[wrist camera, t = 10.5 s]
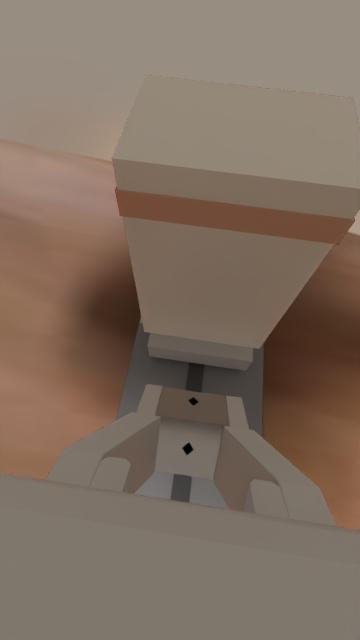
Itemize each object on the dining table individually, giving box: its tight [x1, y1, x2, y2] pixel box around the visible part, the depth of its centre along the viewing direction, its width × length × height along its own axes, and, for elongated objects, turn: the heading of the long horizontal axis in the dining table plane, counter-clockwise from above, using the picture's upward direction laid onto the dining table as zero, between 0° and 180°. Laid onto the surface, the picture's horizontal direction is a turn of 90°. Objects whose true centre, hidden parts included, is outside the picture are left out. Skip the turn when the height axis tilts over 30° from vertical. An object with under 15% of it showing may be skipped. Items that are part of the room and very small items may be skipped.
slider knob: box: [112, 75, 360, 371], centre depth 12 cm, size 5×6×10 cm
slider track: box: [116, 317, 264, 509], centre depth 15 cm, size 20×7×4 cm, turn 172°
